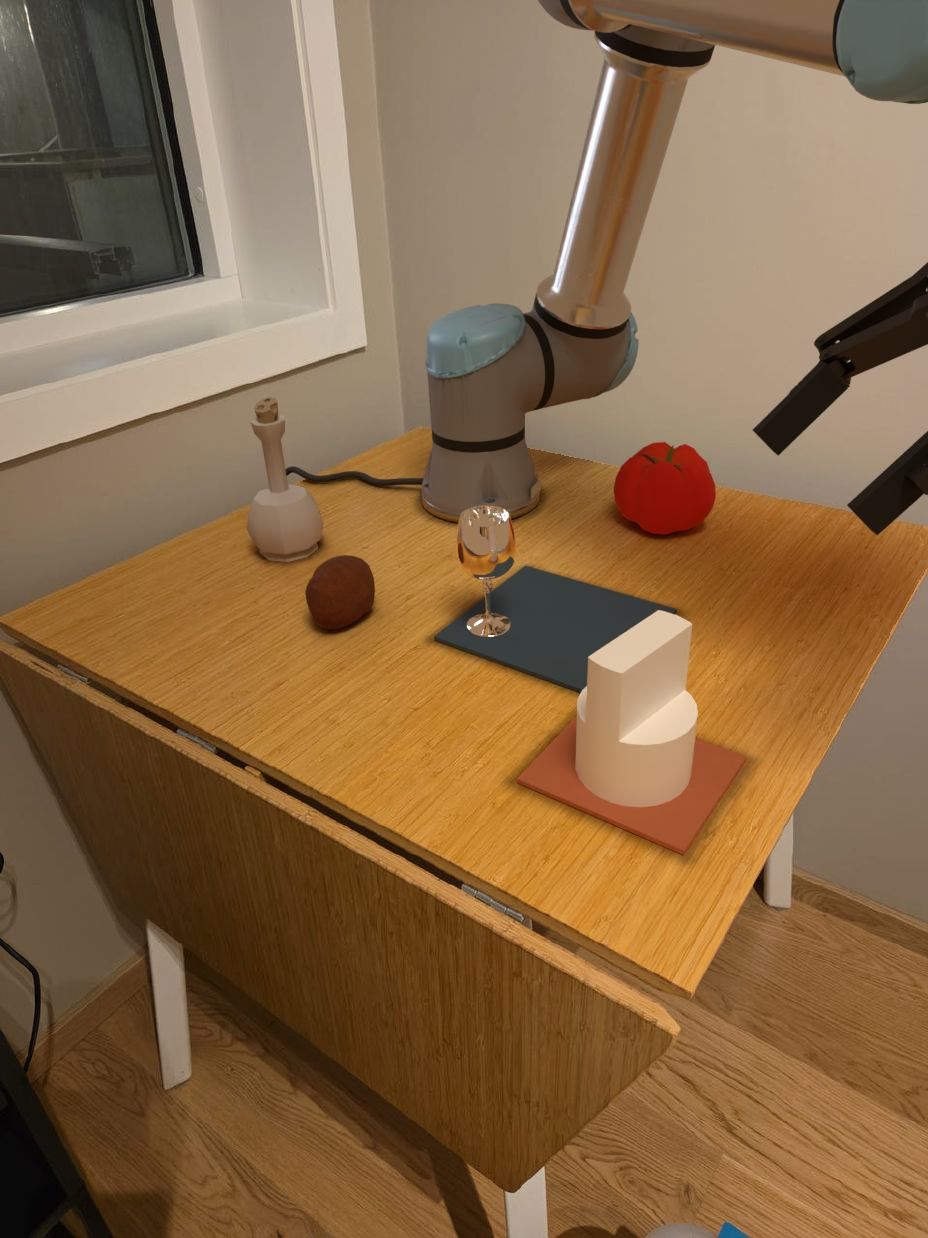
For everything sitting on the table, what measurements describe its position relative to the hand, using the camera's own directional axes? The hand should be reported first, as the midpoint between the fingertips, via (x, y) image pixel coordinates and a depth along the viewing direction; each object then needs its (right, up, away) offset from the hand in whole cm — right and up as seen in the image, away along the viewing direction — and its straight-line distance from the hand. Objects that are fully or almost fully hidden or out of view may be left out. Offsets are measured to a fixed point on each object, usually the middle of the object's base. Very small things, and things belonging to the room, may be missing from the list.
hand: (808, 478), depth 60 cm
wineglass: (-21, -10, +30) cm, 38 cm away
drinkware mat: (-14, -10, +30) cm, 34 cm away
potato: (-36, -9, +34) cm, 50 cm away
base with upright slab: (-10, -21, +11) cm, 26 cm away
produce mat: (-10, -22, +11) cm, 26 cm away
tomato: (+1, +2, +49) cm, 49 cm away
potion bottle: (-44, -1, +47) cm, 65 cm away
